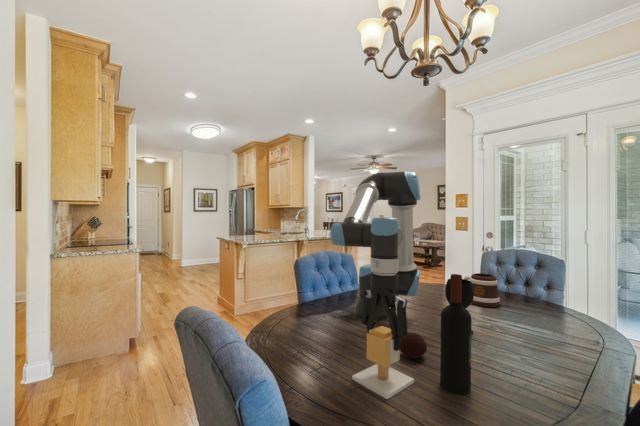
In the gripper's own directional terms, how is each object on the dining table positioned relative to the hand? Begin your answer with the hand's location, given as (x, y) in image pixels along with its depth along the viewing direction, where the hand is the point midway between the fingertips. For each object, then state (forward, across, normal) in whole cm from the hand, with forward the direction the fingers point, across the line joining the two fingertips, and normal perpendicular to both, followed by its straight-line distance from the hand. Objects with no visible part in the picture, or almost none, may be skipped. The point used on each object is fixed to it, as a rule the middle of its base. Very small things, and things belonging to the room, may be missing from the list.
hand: (383, 356), depth 84 cm
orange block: (+1, 0, 0) cm, 1 cm away
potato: (+7, -3, +19) cm, 21 cm away
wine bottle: (+7, +14, +13) cm, 20 cm away
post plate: (+7, 0, 0) cm, 7 cm away
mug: (+6, -16, +101) cm, 103 cm away
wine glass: (+7, -4, +53) cm, 54 cm away
